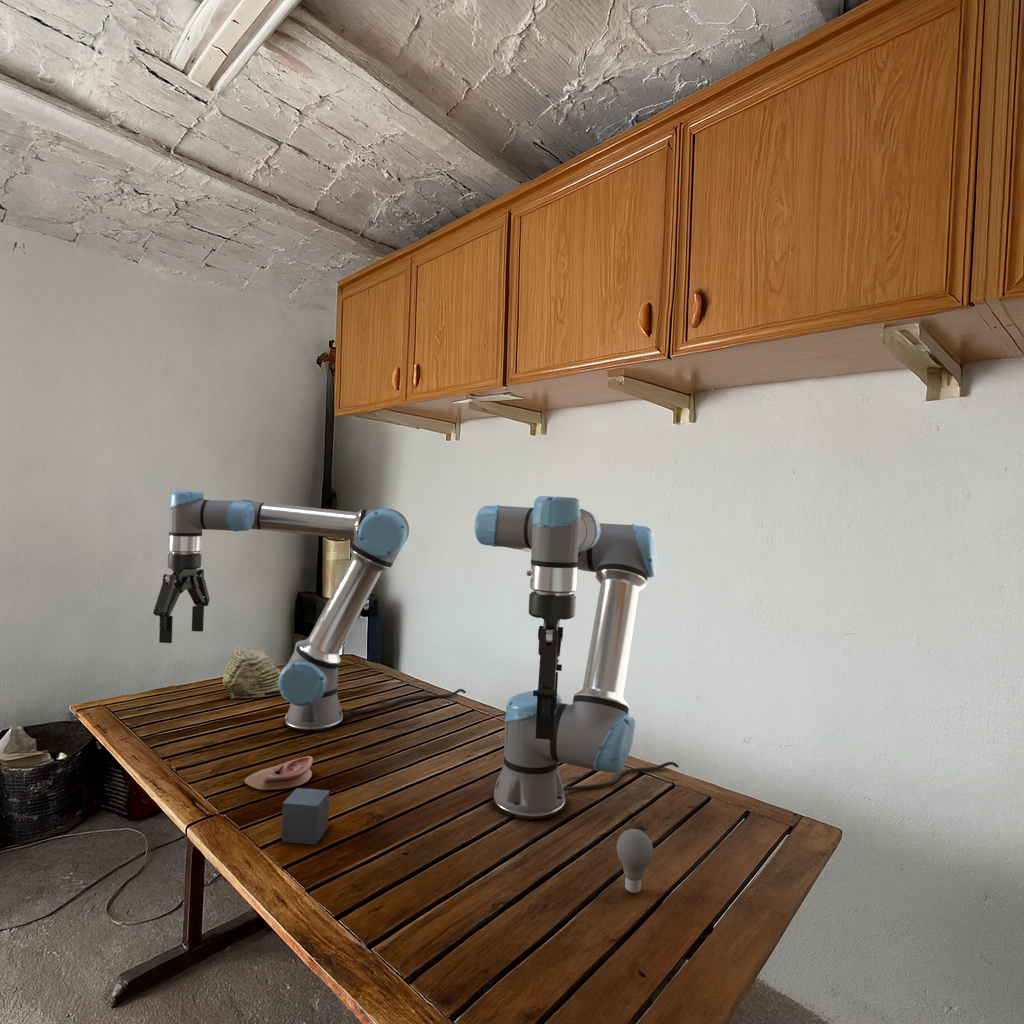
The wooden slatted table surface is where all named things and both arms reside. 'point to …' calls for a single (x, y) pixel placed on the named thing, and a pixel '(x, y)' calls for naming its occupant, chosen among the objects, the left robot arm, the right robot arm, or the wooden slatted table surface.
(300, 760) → the anatomical model
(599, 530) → the right robot arm
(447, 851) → the wooden slatted table surface
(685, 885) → the wooden slatted table surface
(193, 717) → the wooden slatted table surface
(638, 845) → the light bulb
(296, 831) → the block
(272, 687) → the fossil
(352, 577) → the left robot arm
